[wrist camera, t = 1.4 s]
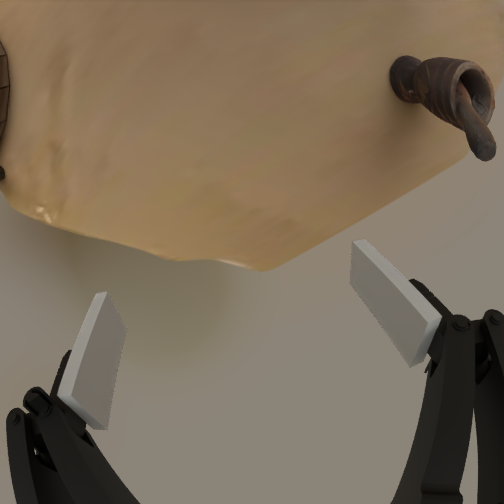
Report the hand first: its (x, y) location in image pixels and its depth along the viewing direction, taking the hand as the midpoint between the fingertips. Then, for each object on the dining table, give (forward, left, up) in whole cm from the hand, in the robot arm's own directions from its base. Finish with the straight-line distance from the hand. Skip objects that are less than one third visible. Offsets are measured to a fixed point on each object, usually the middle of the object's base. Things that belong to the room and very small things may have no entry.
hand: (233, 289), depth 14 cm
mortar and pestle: (-18, +21, -24) cm, 37 cm away
